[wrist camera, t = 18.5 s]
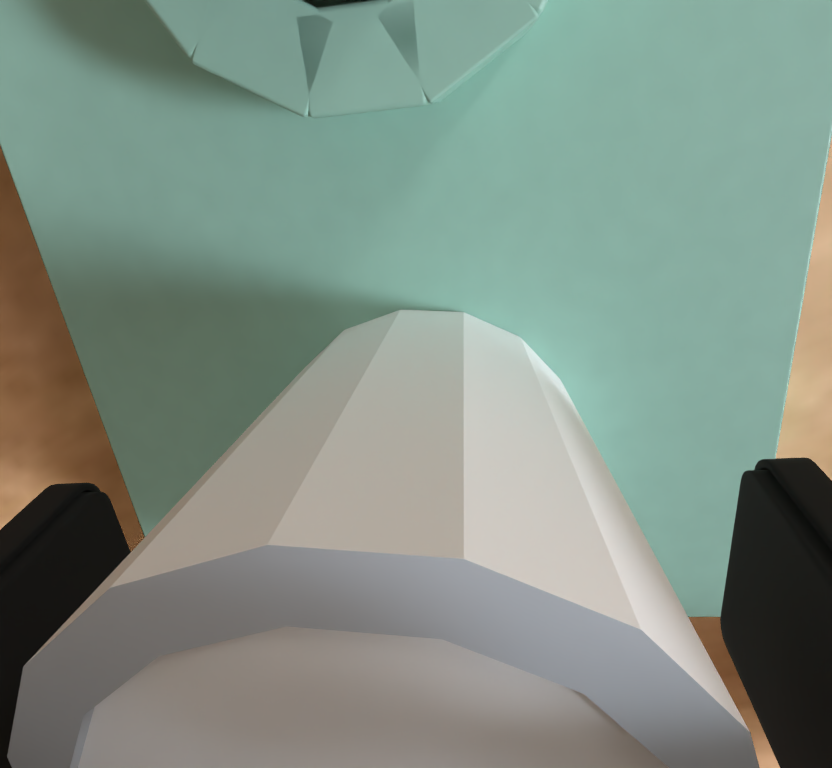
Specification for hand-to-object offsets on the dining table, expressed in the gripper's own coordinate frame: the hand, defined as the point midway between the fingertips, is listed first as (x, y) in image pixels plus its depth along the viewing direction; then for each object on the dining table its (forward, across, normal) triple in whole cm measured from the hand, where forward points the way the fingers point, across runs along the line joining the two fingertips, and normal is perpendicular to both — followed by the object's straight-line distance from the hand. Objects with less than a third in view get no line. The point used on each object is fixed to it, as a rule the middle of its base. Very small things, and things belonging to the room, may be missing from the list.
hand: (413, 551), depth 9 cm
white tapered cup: (+3, 0, 0) cm, 3 cm away
